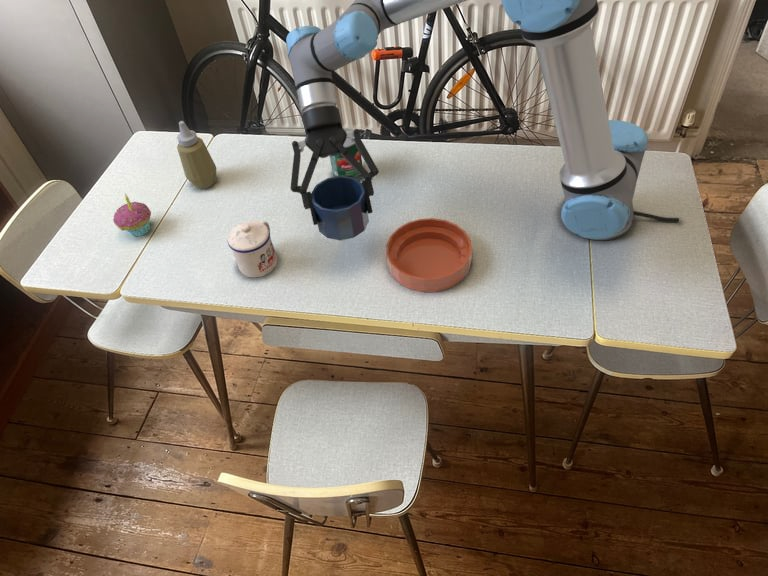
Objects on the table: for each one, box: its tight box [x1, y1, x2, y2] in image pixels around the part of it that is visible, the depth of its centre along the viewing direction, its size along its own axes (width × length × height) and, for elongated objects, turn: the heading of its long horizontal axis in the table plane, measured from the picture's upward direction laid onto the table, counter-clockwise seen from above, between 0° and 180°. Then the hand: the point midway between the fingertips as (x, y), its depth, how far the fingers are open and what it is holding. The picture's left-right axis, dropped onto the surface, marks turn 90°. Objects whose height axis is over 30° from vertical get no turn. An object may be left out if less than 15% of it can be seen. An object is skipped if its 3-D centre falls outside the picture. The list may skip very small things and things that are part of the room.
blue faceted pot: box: [311, 176, 370, 241], centre depth 119 cm, size 11×11×8 cm
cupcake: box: [112, 193, 152, 237], centre depth 136 cm, size 9×8×12 cm
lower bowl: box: [385, 217, 473, 293], centre depth 124 cm, size 18×18×4 cm
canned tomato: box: [329, 127, 364, 181], centre depth 144 cm, size 8×8×11 cm
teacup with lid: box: [227, 220, 278, 278], centre depth 126 cm, size 12×9×12 cm
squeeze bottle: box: [176, 120, 217, 190], centre depth 144 cm, size 8×8×18 cm
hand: (343, 218), depth 117 cm, fingers closed on blue faceted pot, 11 cm apart
